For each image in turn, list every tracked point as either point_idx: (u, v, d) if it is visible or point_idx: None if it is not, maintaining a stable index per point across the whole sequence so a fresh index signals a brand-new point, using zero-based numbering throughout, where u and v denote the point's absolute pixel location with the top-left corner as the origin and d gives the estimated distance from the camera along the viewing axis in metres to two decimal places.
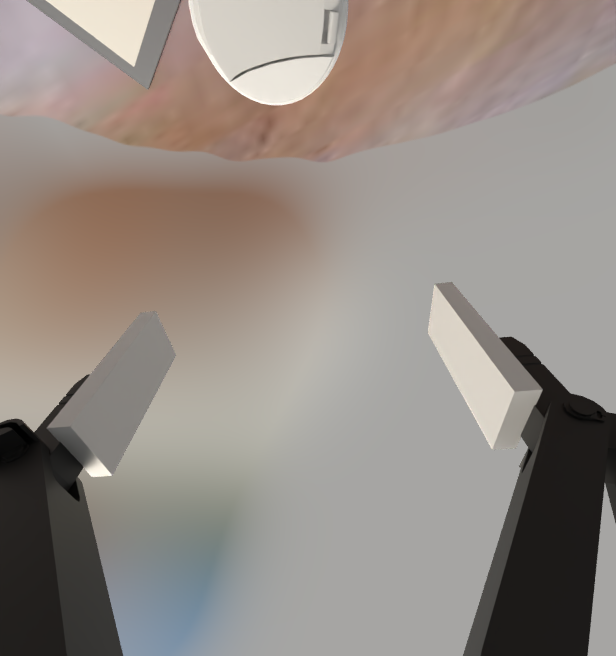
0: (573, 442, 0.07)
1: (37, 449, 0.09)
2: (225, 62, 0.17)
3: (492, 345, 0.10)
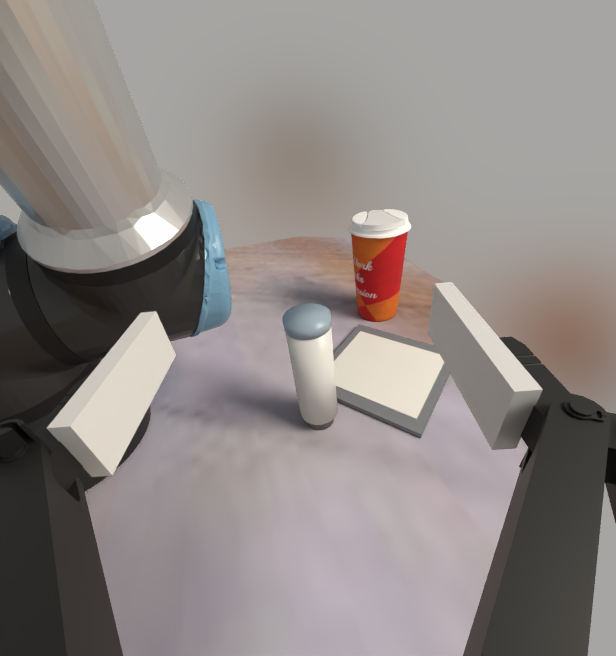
0: (573, 442, 0.07)
1: (37, 449, 0.09)
2: (397, 220, 0.39)
3: (492, 345, 0.10)
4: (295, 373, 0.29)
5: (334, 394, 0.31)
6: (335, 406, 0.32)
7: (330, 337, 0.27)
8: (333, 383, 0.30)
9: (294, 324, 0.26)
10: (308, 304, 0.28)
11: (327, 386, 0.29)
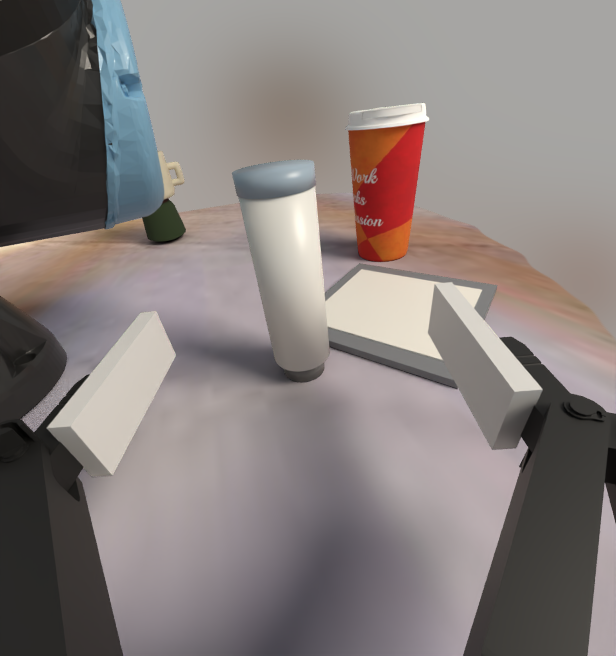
0: (573, 442, 0.07)
1: (37, 449, 0.09)
2: (412, 104, 0.29)
3: (492, 345, 0.10)
4: (260, 279, 0.18)
5: (323, 321, 0.20)
6: (326, 343, 0.21)
7: (314, 207, 0.16)
8: (321, 300, 0.19)
9: (250, 173, 0.15)
10: (278, 161, 0.17)
11: (311, 301, 0.18)
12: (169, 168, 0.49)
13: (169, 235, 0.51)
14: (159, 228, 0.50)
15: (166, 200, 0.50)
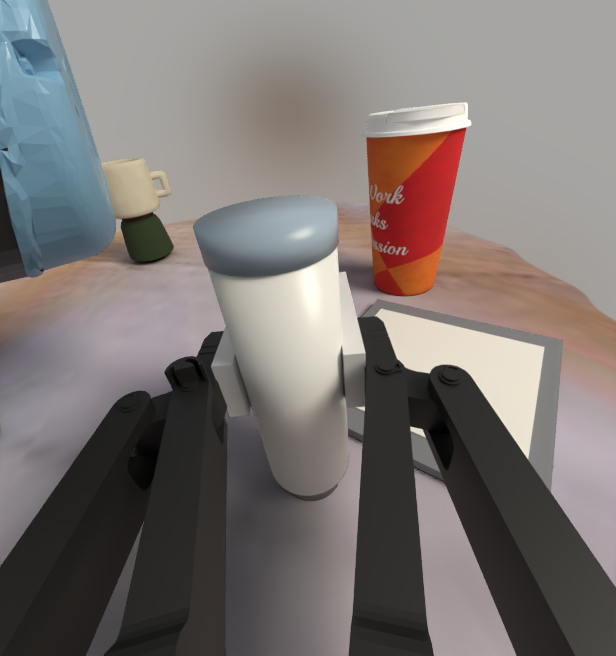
0: (386, 394, 0.09)
1: (205, 389, 0.10)
2: (452, 104, 0.22)
3: (347, 321, 0.12)
4: (245, 382, 0.11)
5: (343, 429, 0.13)
6: (345, 453, 0.14)
7: (335, 279, 0.09)
8: (341, 405, 0.12)
9: (223, 229, 0.08)
10: (276, 198, 0.10)
11: (327, 413, 0.12)
12: (153, 178, 0.43)
13: (154, 254, 0.45)
14: (141, 247, 0.44)
15: (150, 214, 0.44)
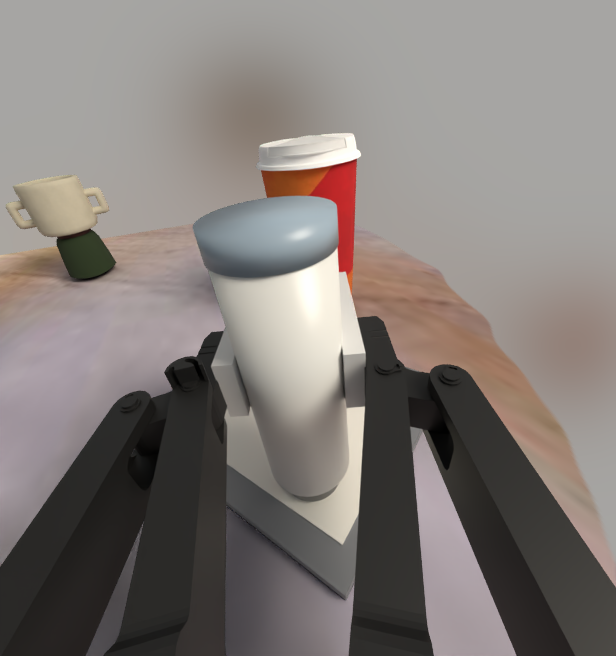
0: (386, 395, 0.09)
1: (205, 389, 0.10)
2: (332, 138, 0.22)
3: (347, 321, 0.12)
4: (245, 383, 0.11)
5: (343, 430, 0.13)
6: (345, 454, 0.14)
7: (335, 280, 0.09)
8: (342, 406, 0.12)
9: (223, 229, 0.08)
10: (275, 198, 0.10)
11: (327, 414, 0.12)
12: (87, 195, 0.42)
13: (91, 271, 0.44)
14: (77, 264, 0.43)
15: (86, 231, 0.43)
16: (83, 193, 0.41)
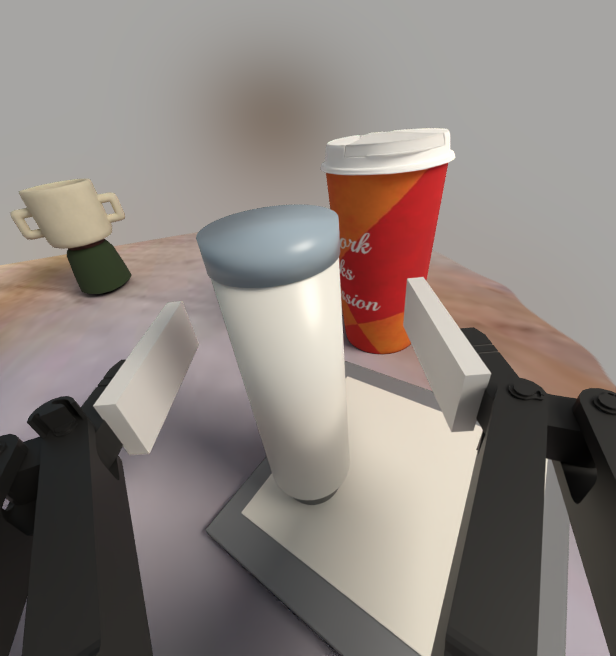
0: (518, 422, 0.08)
1: (84, 427, 0.09)
2: (429, 133, 0.17)
3: (452, 334, 0.11)
4: (247, 389, 0.11)
5: (344, 434, 0.13)
6: (346, 458, 0.14)
7: (337, 289, 0.10)
8: (342, 411, 0.12)
9: (227, 240, 0.08)
10: (278, 207, 0.11)
11: (328, 419, 0.12)
12: (102, 201, 0.37)
13: (105, 286, 0.39)
14: (90, 279, 0.39)
15: (100, 242, 0.39)
16: (97, 199, 0.37)
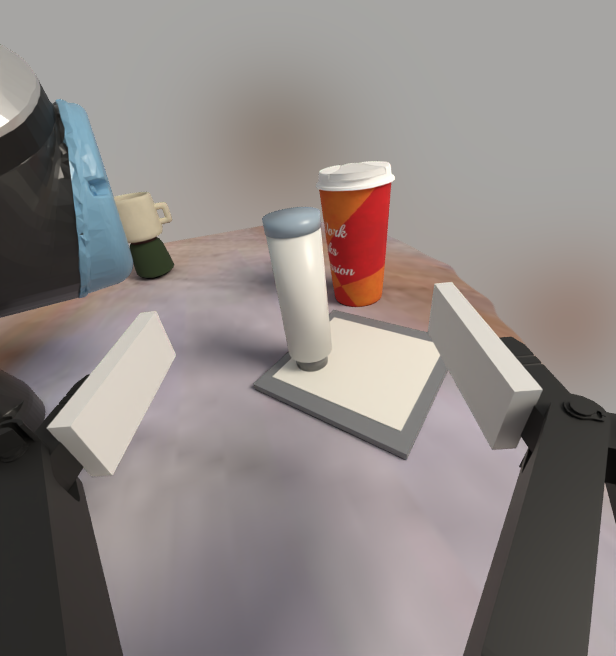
0: (573, 442, 0.07)
1: (37, 449, 0.09)
2: (376, 167, 0.30)
3: (492, 345, 0.10)
4: (280, 293, 0.24)
5: (327, 323, 0.26)
6: (329, 340, 0.27)
7: (320, 242, 0.22)
8: (325, 308, 0.25)
9: (276, 220, 0.21)
10: (293, 208, 0.24)
11: (318, 308, 0.24)
12: (157, 208, 0.51)
13: (157, 271, 0.53)
14: (147, 266, 0.52)
15: (154, 238, 0.52)
16: (154, 207, 0.50)
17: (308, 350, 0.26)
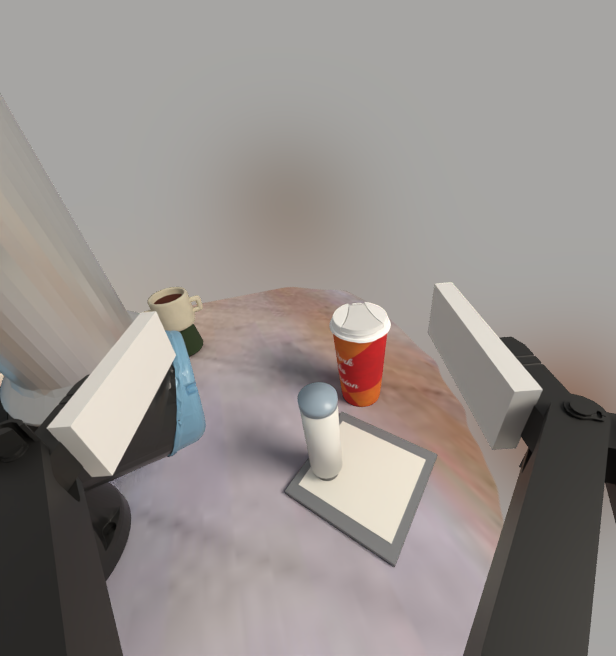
0: (573, 442, 0.07)
1: (37, 449, 0.09)
2: (376, 324, 0.40)
3: (492, 345, 0.10)
4: (307, 440, 0.34)
5: (340, 453, 0.36)
6: (340, 462, 0.37)
7: (337, 413, 0.32)
8: (339, 446, 0.35)
9: (308, 405, 0.31)
10: (318, 383, 0.33)
11: (334, 449, 0.35)
12: (191, 301, 0.60)
13: (190, 352, 0.62)
14: None
15: None
16: (189, 301, 0.60)
17: (326, 472, 0.36)
